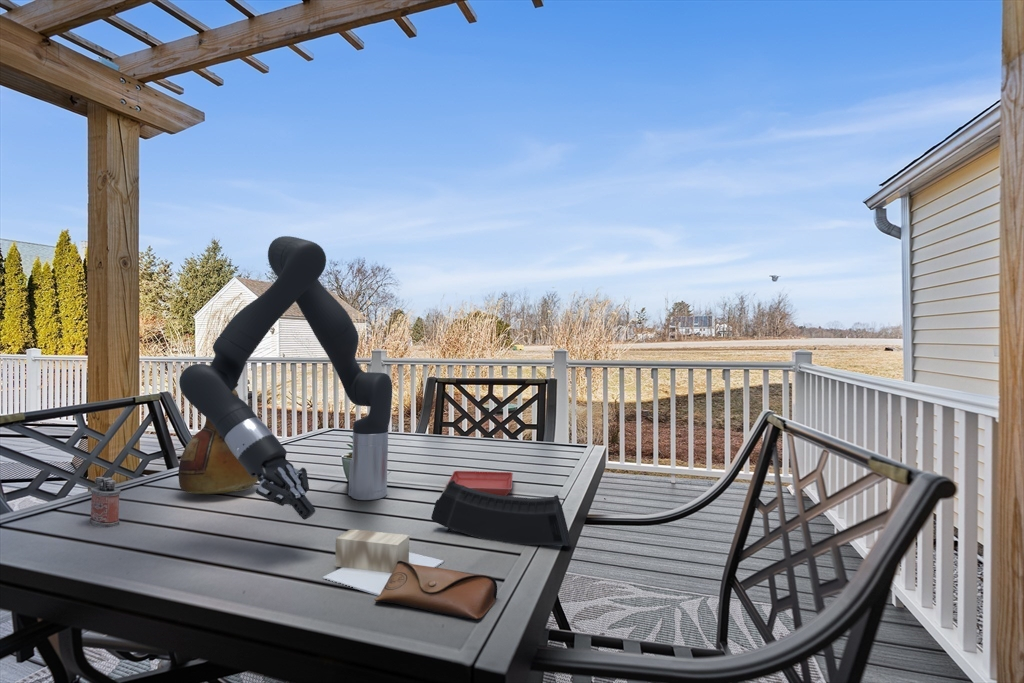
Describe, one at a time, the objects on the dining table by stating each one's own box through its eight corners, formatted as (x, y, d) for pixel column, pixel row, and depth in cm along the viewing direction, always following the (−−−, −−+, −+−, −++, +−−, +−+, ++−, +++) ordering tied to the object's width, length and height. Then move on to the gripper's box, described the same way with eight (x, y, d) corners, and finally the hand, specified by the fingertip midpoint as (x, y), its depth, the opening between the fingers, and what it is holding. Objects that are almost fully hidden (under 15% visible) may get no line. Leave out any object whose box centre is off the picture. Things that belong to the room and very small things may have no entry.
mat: (322, 578, 88) (322, 577, 88) (385, 548, 102) (385, 546, 102) (386, 598, 82) (386, 596, 82) (444, 562, 96) (444, 560, 96)
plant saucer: (511, 500, 139) (512, 487, 139) (445, 498, 139) (445, 486, 139) (512, 483, 157) (512, 472, 157) (453, 481, 157) (454, 470, 157)
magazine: (583, 503, 104) (456, 449, 114) (580, 508, 101) (449, 452, 111) (558, 581, 106) (434, 520, 115) (554, 587, 103) (427, 525, 112)
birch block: (335, 538, 93) (397, 545, 90) (350, 529, 97) (409, 535, 95) (335, 566, 92) (396, 573, 90) (349, 555, 97) (408, 562, 95)
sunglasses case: (370, 600, 79) (383, 554, 82) (388, 605, 85) (399, 562, 88) (481, 620, 74) (490, 571, 78) (492, 624, 80) (500, 578, 83)
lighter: (123, 524, 113) (125, 478, 113) (106, 528, 110) (107, 481, 110) (102, 518, 116) (104, 474, 117) (85, 522, 113) (86, 477, 113)
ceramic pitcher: (239, 479, 153) (242, 379, 153) (275, 491, 141) (278, 382, 142) (164, 493, 137) (168, 381, 137) (198, 508, 125) (202, 385, 126)
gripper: (243, 439, 92) (302, 513, 90) (289, 428, 105) (342, 493, 103) (217, 466, 93) (274, 541, 91) (266, 453, 106) (317, 517, 104)
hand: (310, 515), depth 97 cm, fingers closed
